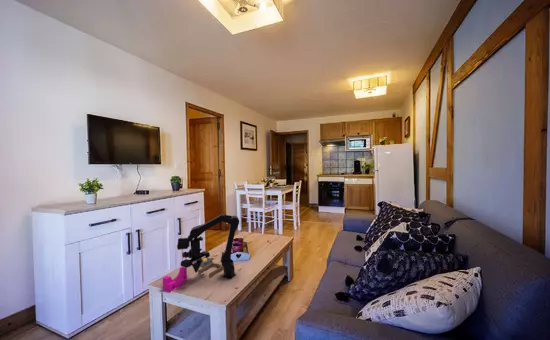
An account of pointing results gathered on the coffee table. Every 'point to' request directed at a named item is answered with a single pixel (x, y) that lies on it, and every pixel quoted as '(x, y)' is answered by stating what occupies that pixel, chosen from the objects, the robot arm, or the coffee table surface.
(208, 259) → the button housing
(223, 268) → the brown wooden u-shaped frame
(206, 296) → the coffee table surface
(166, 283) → the toy block
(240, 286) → the coffee table surface
